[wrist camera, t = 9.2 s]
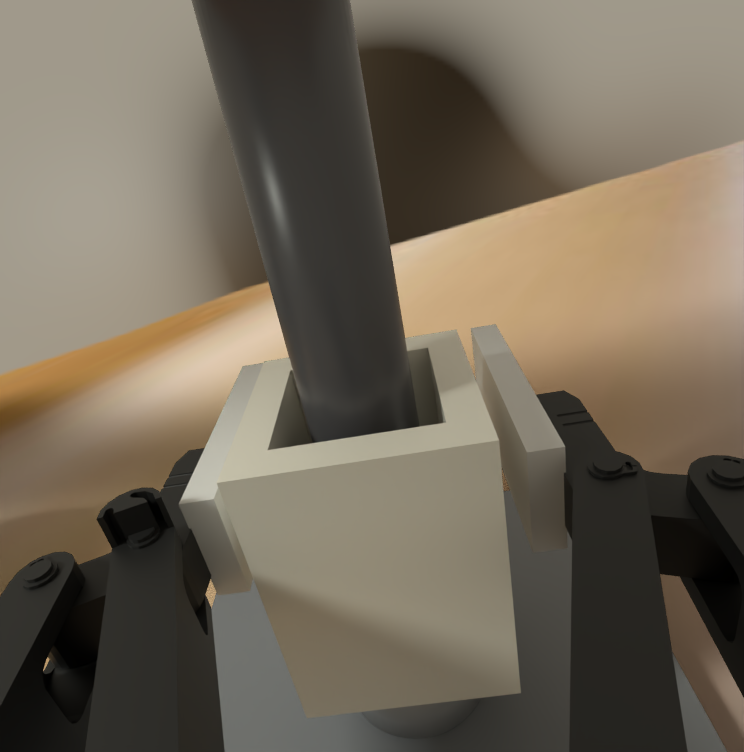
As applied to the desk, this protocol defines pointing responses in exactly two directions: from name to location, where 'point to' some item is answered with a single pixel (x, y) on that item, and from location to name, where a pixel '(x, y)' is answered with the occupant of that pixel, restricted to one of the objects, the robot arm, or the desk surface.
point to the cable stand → (356, 383)
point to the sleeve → (379, 542)
